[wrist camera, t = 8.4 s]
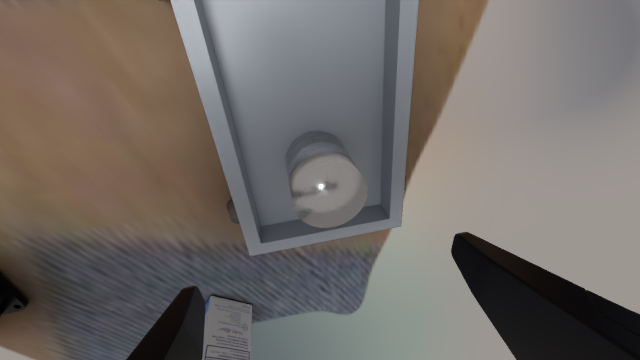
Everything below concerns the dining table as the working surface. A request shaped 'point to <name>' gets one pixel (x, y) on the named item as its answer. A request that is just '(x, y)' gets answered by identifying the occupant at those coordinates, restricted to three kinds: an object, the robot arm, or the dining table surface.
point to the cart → (303, 102)
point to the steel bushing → (324, 180)
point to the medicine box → (227, 330)
